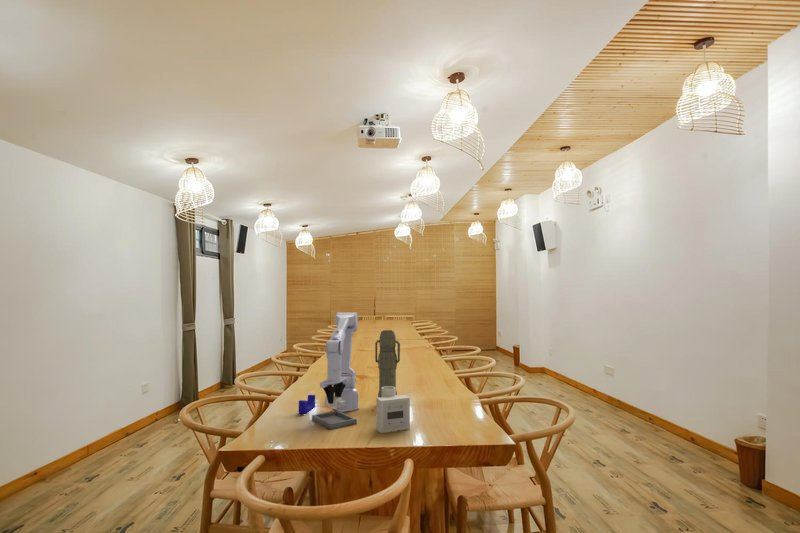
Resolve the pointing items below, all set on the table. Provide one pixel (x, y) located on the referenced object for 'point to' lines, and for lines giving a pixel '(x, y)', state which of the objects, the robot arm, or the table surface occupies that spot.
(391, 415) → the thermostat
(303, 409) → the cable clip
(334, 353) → the robot arm
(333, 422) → the tray
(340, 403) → the connector
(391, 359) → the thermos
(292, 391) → the table surface
